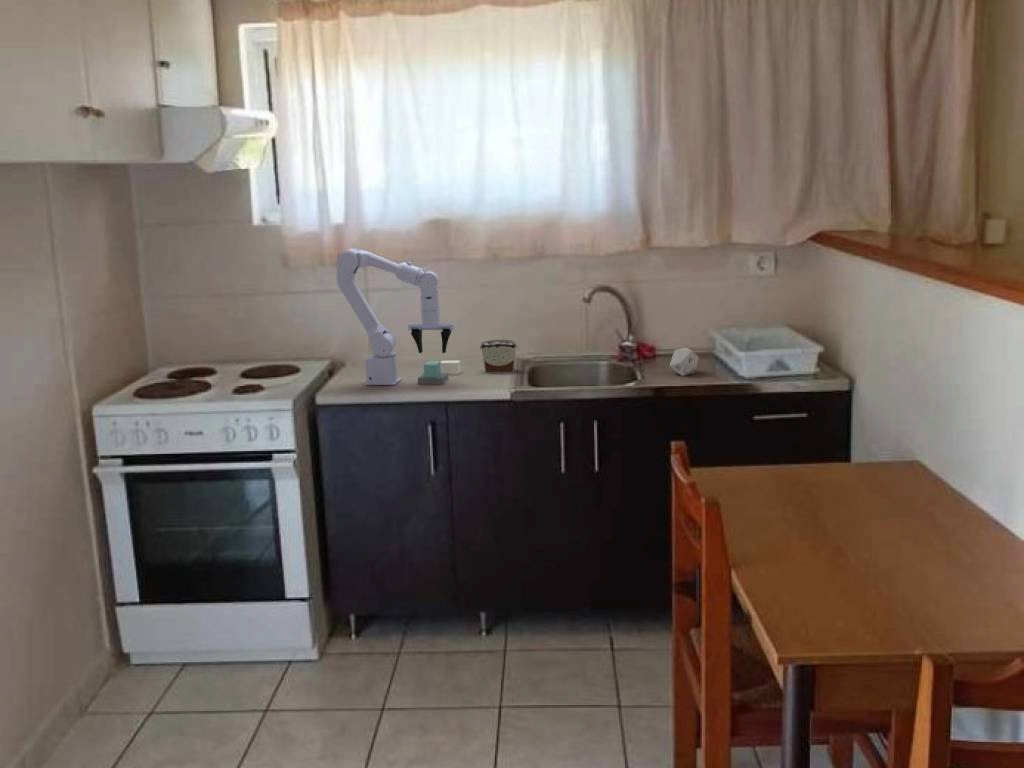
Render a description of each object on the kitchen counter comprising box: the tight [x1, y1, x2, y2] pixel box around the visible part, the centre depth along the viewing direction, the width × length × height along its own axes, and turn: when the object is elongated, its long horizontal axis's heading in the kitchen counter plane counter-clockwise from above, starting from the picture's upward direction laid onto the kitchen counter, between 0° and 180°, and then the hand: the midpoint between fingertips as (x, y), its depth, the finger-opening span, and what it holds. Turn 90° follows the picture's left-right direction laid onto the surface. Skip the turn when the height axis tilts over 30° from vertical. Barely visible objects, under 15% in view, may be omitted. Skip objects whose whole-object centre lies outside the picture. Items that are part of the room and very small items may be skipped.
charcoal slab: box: [417, 372, 449, 385], centre depth 325 cm, size 8×8×2 cm
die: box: [669, 347, 700, 377], centre depth 323 cm, size 8×9×10 cm
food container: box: [479, 339, 518, 374], centre depth 336 cm, size 12×6×10 cm, turn 84°
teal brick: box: [423, 360, 441, 378], centre depth 324 cm, size 4×6×4 cm, turn 172°
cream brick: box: [440, 359, 462, 376], centre depth 335 cm, size 6×4×4 cm, turn 83°
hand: (432, 352), depth 323 cm, fingers open, 7 cm apart
